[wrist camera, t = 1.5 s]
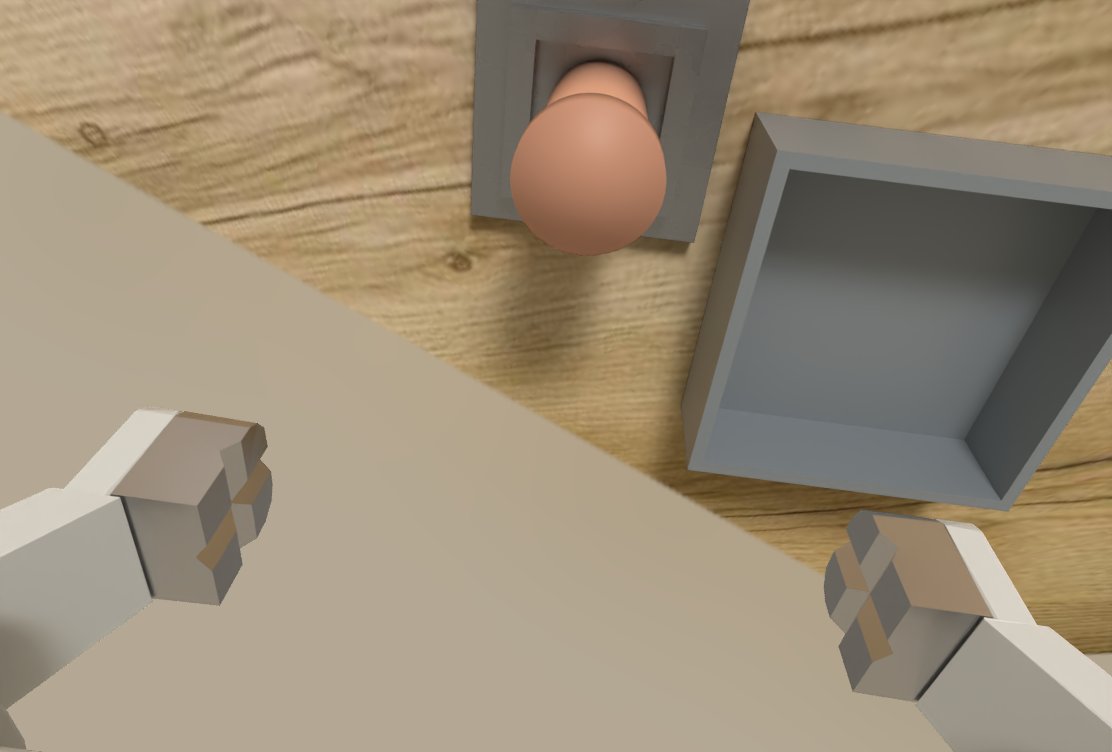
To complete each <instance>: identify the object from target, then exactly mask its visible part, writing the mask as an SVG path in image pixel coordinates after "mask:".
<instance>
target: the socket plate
mask: <svg viewBox="0 0 1112 752" xmlns="http://www.w3.org/2000/svg"><path fill="white" fill-rule="evenodd" d="M749 2H750V0H477V21H476V56H475V91H474V126H473V161H472V196H471V215H478V216H486V217H493V218H501V219H509V220H517V221H523V220H522V218H521V217H520V215H519V213H518V211H517V209H516V206H515V204H514V201H513V197H512V193H511V185H510V173H511V165H512V161H513V157H514V154H515V151H516V149H517V147H518V144H519V142H520V140H521V137H522V135H523V133H524V131H525V129H526V128H527V126H528V124H529V123H530V122H531V121H532V119H533V118H534V117H535V116H536V115H537V114H538V113H539V112H540V111H541V110H542V109H544V108H545V107H546V105H547V103H548V100H549V97H550V95H551V92H552V90H553V88H554V86H555V84H556V83H557V81H558V80H559V79H560V77H561V76H562V75H563V74H564V73H565V72H566V71H568V70H569V69H570V68H572V67H573V66H575V65H577V64H579V63H582V62H585V61H590V60H606V61H611V62H614V63H617V64H619V65H621V66H623V67H624V68H625V69H627V70H628V71H629V72H630V73H632V74H633V75H634V77H635V78H636V79H637V80H638V82H639V84H640V85H641V87H642V89H643V92H644V94H645V98H646V103H647V113H648V121H649V122H650V123H651V125H652V126H653V128H654V129H655V131H656V133H657V135H658V137H659V140H660V142H661V146H662V149H663V154H664V161H665V168H666V190H665V196H664V200H663V203H662V206H661V208H660V211H659V213H658V215H657V216H656V218H655V220H654V221H653V223H652V224H651V225H650V227H649V228H648V229H647V230H646V231H645V232H644V233H643V234H642V235H641V236H644V237H652V238H660V239H668V240H676V241H684V242H692V243H694V241H695V237H696V232H697V228H698V224H699V219H700V215H701V211H702V206H703V202H704V198H705V193H706V189H707V185H708V180H709V176H710V171H711V167H712V163H713V158H714V154H715V150H716V145H717V141H718V137H719V132H720V128H721V124H722V119H723V115H724V111H725V106H726V102H727V97H728V93H729V89H730V84H731V80H732V76H733V71H734V67H735V63H736V58H737V54H738V50H739V45H740V41H741V37H742V32H743V28H744V23H745V19H746V15H747V10H748V6H749Z"/></svg>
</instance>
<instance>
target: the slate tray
mask: <svg viewBox="0 0 1112 752" xmlns="http://www.w3.org/2000/svg"><path fill="white" fill-rule="evenodd" d="M1111 358H1112V156H1106V155H1098V154H1090V153H1082V152H1074V151H1066V150H1058V149H1050V148H1042V147H1034V146H1025V145H1017V144H1009V143H1001V142H993V141H985V140H977V139H969V138H961V137H953V136H945V135H937V134H928V133H920V132H912V131H904V130H896V129H888V128H880V127H872V126H864V125H856V124H848V123H839V122H831V121H823V120H815V119H807V118H799V117H791V116H783V115H775V114H767V113H759V112H756V114H755V118H754V122H753V126H752V130H751V133H750V137H749V141H748V145H747V149H746V153H745V157H744V161H743V165H742V169H741V173H740V177H739V181H738V184H737V188H736V192H735V196H734V200H733V204H732V208H731V212H730V216H729V220H728V224H727V228H726V231H725V235H724V239H723V243H722V247H721V251H720V255H719V259H718V263H717V267H716V271H715V275H714V278H713V282H712V286H711V290H710V294H709V298H708V302H707V306H706V310H705V314H704V318H703V322H702V325H701V329H700V333H699V337H698V341H697V345H696V349H695V353H694V357H693V361H692V365H691V369H690V372H689V376H688V380H687V384H686V388H685V392H684V396H683V400H682V404H681V411H682V421H683V430H684V440H685V450H686V460H687V469H688V470H693V471H700V472H708V473H716V474H723V475H731V476H739V477H746V478H754V479H762V480H769V481H777V482H785V483H792V484H800V485H808V486H816V487H823V488H831V489H839V490H846V491H854V492H862V493H869V494H877V495H885V496H892V497H900V498H908V499H915V500H923V501H931V502H939V503H946V504H954V505H962V506H969V507H977V508H985V509H992V510H1000V511H1009V510H1010V508H1011V507H1012V505H1013V504H1014V502H1015V501H1016V499H1017V498H1018V496H1019V495H1020V493H1021V492H1022V490H1023V489H1024V487H1025V486H1026V484H1027V483H1028V481H1029V480H1030V478H1031V477H1032V475H1033V474H1034V472H1035V471H1036V470H1037V468H1038V467H1039V465H1040V464H1041V462H1042V461H1043V459H1044V458H1045V456H1046V455H1047V453H1048V452H1049V450H1050V449H1051V447H1052V446H1053V444H1054V443H1055V441H1056V440H1057V438H1058V437H1059V435H1060V434H1061V432H1062V431H1063V430H1064V428H1065V427H1066V425H1067V424H1068V422H1069V421H1070V419H1071V418H1072V416H1073V415H1074V413H1075V412H1076V410H1077V409H1078V407H1079V406H1080V404H1081V403H1082V401H1083V400H1084V398H1085V397H1086V395H1087V394H1088V392H1089V391H1090V390H1091V388H1092V387H1093V385H1094V384H1095V382H1096V381H1097V379H1098V378H1099V376H1100V375H1101V373H1102V372H1103V370H1104V369H1105V367H1106V366H1107V364H1108V363H1109V361H1110V360H1111Z"/></svg>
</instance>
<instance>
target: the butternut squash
mask: <svg viewBox="0 0 1112 752" xmlns="http://www.w3.org/2000/svg"><path fill="white" fill-rule="evenodd" d="M510 185H511V193H512V197H513V201H514V204H515V206H516V209H517V211H518V213H519V215H520V217H521V218H522V220H523V222H524V223H525V224H526V226H527V227H528V228H529V229H530V230H531V231H532V232H533V233H534V234H535V235H536V236H537V237H538V238H539V239H541V240H542V241H543V242H545V243H547V244H548V245H550V246H552V247H554V248H556V249H558V250H561V251H564V252H567V253H571V254H576V255H586V256H590V255H601V254H607V253H610V252H613V251H617V250H619V249H621V248H623V247H625V246H627V245H629V244H630V243H632V242H634V241H635V240H636V239H638V238H639V237H640V236H641V235H642V234H643V233H644V232H645V231H646V230H647V229H648V228H649V227H650V225H651V224H652V223H653V221H654V220H655V218H656V216H657V215H658V213H659V211H660V208H661V206H662V203H663V200H664V196H665V190H666V168H665V161H664V154H663V149H662V146H661V142H660V140H659V137H658V135H657V133H656V131H655V129H654V128H653V126H652V125H651V123H650V122H649V121H648V113H647V103H646V98H645V94H644V92H643V89H642V87H641V85H640V84H639V82H638V80H637V79H636V78H635V77H634V75H633V74H632V73H630V72H629V71H628V70H627V69H625V68H624V67H623V66H621V65H619V64H617V63H614V62H611V61H606V60H590V61H585V62H582V63H579V64H577V65H575V66H573V67H572V68H570V69H569V70H568V71H566V72H565V73H564V74H563V75H562V76H561V77H560V79H559V80H558V81H557V83H556V84H555V86H554V88H553V90H552V92H551V95H550V97H549V100H548V103H547V105H546V107H545V108H544V109H542V110H541V111H540V112H539V113H538V114H537V115H536V116H535V117H534V118H533V119H532V121H531V122H530V123H529V124H528V126H527V128H526V129H525V131H524V133H523V135H522V137H521V140H520V142H519V144H518V147H517V149H516V151H515V154H514V157H513V161H512V165H511V173H510Z"/></svg>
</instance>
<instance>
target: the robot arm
mask: <svg viewBox="0 0 1112 752" xmlns="http://www.w3.org/2000/svg"><path fill="white" fill-rule="evenodd" d="M266 448H267V440H266V435H265V430H264V427H262V426H261V425H259V424H258V423H252V422H246V421H240V420H234V419H228V418H222V417H216V416H210V415H204V414H198V413H192V412H186V411H185V412H181V411H175V410H169V409H164V408H158V407H152V406H146V407H143V408H140V409H138V410H136V411H135V412H134V413H133V414H132V415H131V416H130V417H129V418H128V419H127V420H126V422H125V423H124V424H123V425H122V426H121V427H120V428H119V429H118V430H117V431H116V432H115V433H114V434H113V436H112V437H111V438H110V439H109V440H108V441H107V442H106V443H105V444H104V445H103V446H102V448H101V449H100V450H99V451H98V452H97V453H96V454H95V455H94V456H93V457H92V458H91V459H90V461H89V462H88V463H87V464H86V465H85V466H84V467H83V468H82V469H81V470H80V471H79V472H78V474H77V475H76V476H75V477H74V478H73V479H72V480H71V481H70V482H69V483H68V484H67V485H66V487H65V488H64V489H57V488H49V489H47V490H44V491H42V492H40V493H38V494H35V495H33V496H31V497H29V498H26V499H24V500H22V501H19V502H17V503H15V504H12V505H10V506H8V507H6V508H3V509H1V510H0V752H40V751H32V750H26V745H25V741H24V738H23V737H22V735H21V733H20V732H19V730H18V728H17V727H16V725H15V723H14V722H13V720H12V718H11V717H10V715H9V713H8V712H7V710H6V709H7V708H8V707H10V706H11V705H12V704H14V703H15V702H17V701H18V700H19V699H21V698H22V697H24V696H25V695H26V694H27V693H29V692H30V691H32V690H33V689H34V688H36V687H37V686H39V685H40V684H41V683H43V682H44V681H45V680H47V679H48V678H50V677H51V676H52V675H54V674H55V673H56V672H58V671H59V670H60V669H62V668H63V667H65V666H66V665H67V664H69V663H70V662H71V661H73V660H74V659H75V658H77V657H78V656H80V655H81V654H82V653H84V652H85V651H86V650H88V649H89V648H91V647H92V646H93V645H95V644H96V643H97V642H99V641H100V640H101V639H103V638H104V637H106V636H107V635H108V634H110V633H111V632H112V631H114V630H115V629H116V628H118V627H119V626H120V625H122V624H123V623H125V622H126V621H127V620H129V619H130V618H132V617H133V616H134V615H136V614H137V613H138V612H140V611H141V610H142V609H144V608H145V607H147V606H148V605H149V604H151V603H152V598H154V599H164V600H172V601H182V602H191V603H200V604H209V605H219V606H220V604H221V603H222V601H223V599H224V597H225V595H226V593H227V592H228V590H229V588H230V586H231V584H232V583H233V581H234V579H235V577H236V575H237V574H238V572H239V570H240V568H241V566H242V558H241V553H240V548H241V547H243V546H245V545H246V544H248V543H250V542H251V541H253V540H255V539H256V538H257V537H258V535H259V533H260V531H261V529H262V527H263V525H264V523H265V521H266V518H267V514H268V511H269V508H270V504H271V500H272V499H271V498H272V476H271V471H270V470H269V469H268V467H267V466H266V465H265V464H264V463H263V462H262V461H261V460H260V458H261V457H262V455H263V453H264V452H265V450H266ZM846 530H847V533H848V535H849V538H850V541H851V542H849V543H847V544H845V545H844V546H842V547H840V548H838V549H836V550H835V551H834V552H833V554H832V557H831V559H830V561H829V563H828V565H827V567H826V574H825V581H824V594H825V602H826V606H827V609H828V613H829V616H830V618H831V619H832V620H833V621H834V622H835V623H836V624H837V625H838V626H839V627H840V628H841V630H842V631H844V633H845V635H844V637H843V639H842V641H841V643H840V645H839V649H840V652H841V656H842V659H843V662H844V665H845V668H846V671H847V675H848V678H849V681H850V684H851V688H852V691H853V692H857V693H863V694H869V695H876V696H881V697H888V698H894V699H900V700H906V701H912V702H917V704H916V707H917V708H918V709H919V710H920V712H921V713H922V714H923V715H924V716H925V717H926V719H927V720H928V721H929V722H930V723H931V725H932V726H933V727H934V728H935V730H936V731H937V732H938V733H939V735H940V736H941V737H942V738H943V739H944V741H945V742H946V743H947V744H948V745H949V747H950V748H951V749H952V750H953V751H954V752H1112V676H1110V675H1109V674H1108V673H1107V672H1105V671H1104V670H1103V669H1101V668H1100V667H1099V666H1098V665H1096V664H1095V663H1094V662H1093V661H1091V660H1090V659H1089V658H1087V657H1086V656H1085V655H1084V654H1083V653H1081V652H1080V651H1079V650H1077V649H1076V648H1075V647H1074V646H1072V645H1071V644H1070V643H1069V642H1067V641H1066V640H1065V639H1064V638H1062V637H1061V636H1060V635H1058V634H1057V633H1056V632H1055V631H1053V630H1052V629H1051V628H1050V627H1046V626H1040V625H1037V624H1036V623H1035V621H1034V619H1033V617H1032V616H1031V614H1030V612H1029V611H1028V609H1027V607H1026V606H1025V604H1024V602H1023V600H1022V599H1021V597H1020V595H1019V594H1018V592H1017V590H1016V589H1015V587H1014V585H1013V583H1012V582H1011V580H1010V578H1009V577H1008V575H1007V573H1006V572H1005V570H1004V568H1003V567H1002V565H1001V563H1000V561H999V560H998V558H997V556H996V555H995V553H994V551H993V550H992V548H991V546H990V544H989V543H988V541H987V539H986V538H985V536H984V534H983V533H982V531H981V530H980V529H978V528H977V527H976V526H975V525H973V524H971V523H963V522H955V521H947V520H939V519H934V520H932V519H928V518H921V517H913V516H906V515H898V514H891V513H884V512H876V511H869V510H860V511H859V512H858V513H857V514H855V515H854V516H853V518H852V519H851V521H850V523H849V525H848V526H847V528H846Z"/></svg>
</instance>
